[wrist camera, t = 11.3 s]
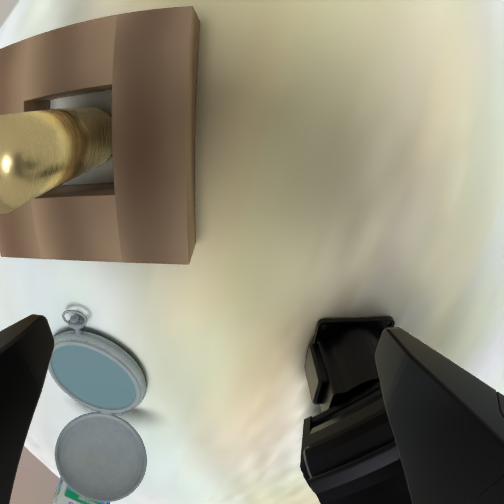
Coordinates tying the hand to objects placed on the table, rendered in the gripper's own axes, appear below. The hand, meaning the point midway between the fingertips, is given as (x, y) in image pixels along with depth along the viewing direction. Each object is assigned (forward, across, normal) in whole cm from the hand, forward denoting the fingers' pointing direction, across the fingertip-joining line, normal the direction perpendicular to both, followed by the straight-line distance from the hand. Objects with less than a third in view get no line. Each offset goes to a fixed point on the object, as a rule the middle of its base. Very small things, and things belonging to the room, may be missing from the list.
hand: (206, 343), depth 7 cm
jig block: (+13, +9, -4) cm, 16 cm away
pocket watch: (+13, +12, +16) cm, 24 cm away
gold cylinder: (+13, +9, -4) cm, 16 cm away
